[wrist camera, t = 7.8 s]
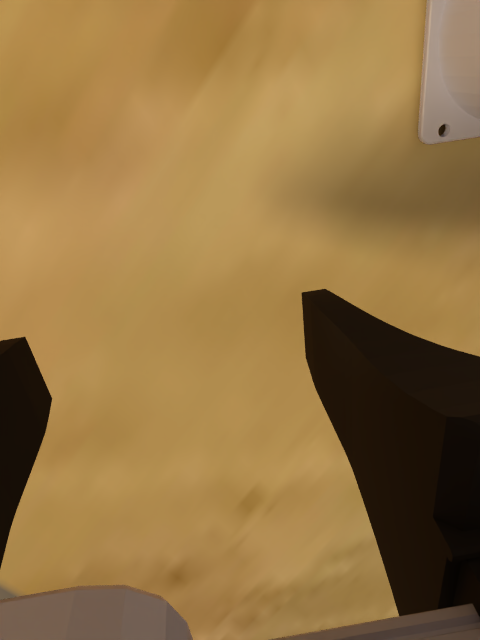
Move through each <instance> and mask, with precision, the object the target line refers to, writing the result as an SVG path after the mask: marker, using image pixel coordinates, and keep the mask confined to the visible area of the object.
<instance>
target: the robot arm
mask: <svg viewBox="0 0 480 640" xmlns="http://www.w3.org/2000/svg"><path fill="white" fill-rule="evenodd" d="M443 124H445V127H446V129H445V132H444V133H443V134H442V135H440V136H439V134H438V130H439V128H440V126H441V125H443ZM476 137H480V0H427V7H426V22H425V36H424V51H423V65H422V80H421V95H420V109H419V124H418V138H419V139H420V141H421V142H423V143H425V144H436V143H443V142H450V141H456V140H463V139H469V138H476ZM302 305H303V321H304V336H305V352H306V359H307V363H308V366H309V369H310V373H311V376H312V379H313V382H314V385H315V388H316V390H317V393H318V395H319V397H320V399H321V401H322V404H323V406H324V408H325V410H326V412H327V414H328V416H329V419H330V421H331V423H332V425H333V427H334V429H335V431H336V433H337V436H338V438H339V440H340V442H341V444H342V446H343V448H344V450H345V453H346V455H347V457H348V460H349V462H350V464H351V467H352V469H353V472H354V475H355V478H356V481H357V484H358V487H359V490H360V493H361V496H362V498H363V501H364V504H365V507H366V510H367V513H368V517H369V520H370V523H371V526H372V529H373V532H374V535H375V538H376V541H377V544H378V547H379V551H380V554H381V557H382V560H383V564H384V567H385V570H386V573H387V576H388V580H389V583H390V586H391V589H392V593H393V596H394V600H395V603H396V606H397V610H398V613H399V617H393V618H388V619H382V620H377V621H371V622H365V623H360V624H354V625H349V626H343V627H338V628H332V629H326V630H321V631H315V632H310V633H304V634H298V635H293V636H287V637H282V638H276V639H270V640H480V357H479V356H475V355H472V354H468V353H464V352H461V351H457V350H454V349H451V348H447V347H444V346H441V345H438V344H436V343H433V342H430V341H427V340H425V339H422V338H419V337H417V336H414V335H412V334H409V333H407V332H405V331H402V330H400V329H398V328H396V327H394V326H392V325H390V324H388V323H385V322H383V321H382V320H380V319H378V318H376V317H374V316H372V315H370V314H368V313H366V312H365V311H363V310H361V309H359V308H358V307H356V306H354V305H352V304H351V303H349V302H347V301H346V300H344V299H342V298H340V297H339V296H337V295H335V294H334V293H332V292H330V291H328V290H326V289H322V290H315V291H309V292H303V293H302ZM51 402H52V397H51V395H50V393H49V390H48V388H47V386H46V384H45V381H44V379H43V377H42V374H41V372H40V370H39V367H38V365H37V363H36V361H35V358H34V356H33V354H32V351H31V349H30V347H29V345H28V342H27V340H26V338H25V337H21V338H15V339H9V340H3V341H0V568H1V564H2V560H3V556H4V552H5V548H6V544H7V540H8V536H9V532H10V528H11V525H12V522H13V519H14V516H15V513H16V510H17V507H18V504H19V502H20V499H21V496H22V494H23V491H24V489H25V486H26V483H27V481H28V478H29V475H30V473H31V470H32V467H33V465H34V462H35V460H36V457H37V454H38V451H39V449H40V446H41V443H42V440H43V437H44V435H45V431H46V427H47V423H48V418H49V413H50V407H51ZM0 640H193V638H192V635H191V633H190V630H189V627H188V624H187V622H186V621H185V620H184V619H183V618H182V617H181V616H180V615H179V614H178V613H177V612H176V611H175V610H174V608H173V607H172V606H171V605H170V604H169V603H168V602H167V601H166V600H165V599H163V598H162V597H161V596H159V595H155V594H152V593H149V592H146V591H143V590H139V589H136V588H133V587H130V586H126V585H96V586H77V587H71V588H65V589H59V590H54V591H48V592H42V593H36V594H31V595H25V596H19V597H14V598H8V599H3V600H0Z"/></svg>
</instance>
